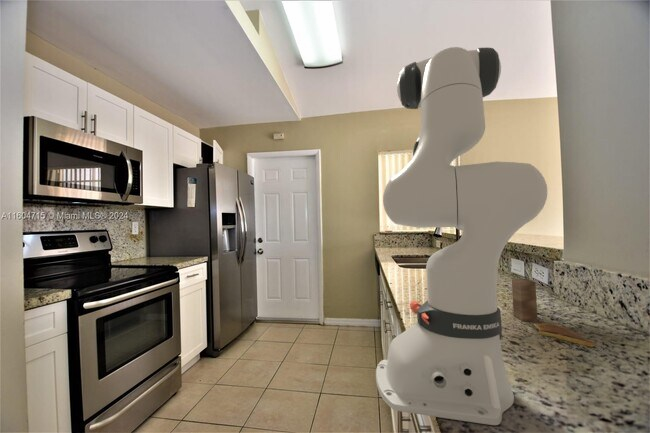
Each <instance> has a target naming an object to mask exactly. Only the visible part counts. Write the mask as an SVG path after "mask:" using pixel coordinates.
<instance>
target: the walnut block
mask: <svg viewBox="0 0 650 433" xmlns="http://www.w3.org/2000/svg"><path fill="white" fill-rule="evenodd" d="M536 285H537V284H536V281H534V280H530V279H527V278H511V291H512V292H511V293H512V294H511V295H512V311H513V312H512V313H513V317H514V318H516V319H517V320H520V321H521V322H539V321H538V307H537V306H538V302H537V286H536Z"/></svg>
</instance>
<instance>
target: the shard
mask: <svg viewBox="0 0 650 433" xmlns="http://www.w3.org/2000/svg"><path fill="white" fill-rule="evenodd" d="M533 326H534V327H535V328H536V329H537V330H538V333H539V334H538V335H540V336H541V335H542V336H546V337H550V338H551V337H552V338H555V339H559V340H562V341H567V342H569V343H574V344H578V345H582V346H587V347H590V348H591V347H592V348H595V345H597V343H595V342H594V341H592V340H589V339H588V338H586V337H584V336H583V335H581V334H579V333H577V332H576V331H573V330H572V329H570V328H567V327H565V326H563V325H559V324H555V323H542V322H541V323H538V322H537V323H535V322H534V323H533Z"/></svg>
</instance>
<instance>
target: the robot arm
mask: <svg viewBox="0 0 650 433" xmlns="http://www.w3.org/2000/svg"><path fill="white" fill-rule="evenodd" d="M501 73H502V64H501V59H500V56H499V53H498V52H497V50H496V49H495V48H493V47H477V48H476V49H475V50H474V49H472V50H471V49H470V50H468V49H465V48H463V47H458V46H454V47H453V46H452V47H448V48H444V49H442V50H440V51H439V52H437V53H435V54H434V55H433V56H432V57H430V58H426V59H423V60H421V61H419V62H418V61H417V62H416V61H413V62H411V63H409V64H407V65H405V66H404V67H403V68H402V70H400V72H399V76H398V79H397V83H396V84H397V85H396V92H397V96H398V98H399V101H400V102H401V105H402V106H403V107H404V108H405V109H408V110H418V109H419V108H420V130H419V134H418V136H417V138H416V140H415V143H414V145H413V151H412V157H411V158H410V159H409V161H408V162H407V164H406V165H405V166H404V167H403V168H402V169H401V170H400V171H398V173H396V174H395V175H394V176H392V177H391V178H390V180H388V182H387V184H386V186H385V187H384V192H383V195H382V203H383V208H384V211H385V213H386V215H387V217H388V219H389V220H390V221H392V223H394V224H395V225H400V226H405V227H410V228H419V229H420V228H421V229H422V228H423V229H424V228H427V229H428V228H455V229H456V230H459V231H462V234H461V237H460V238H459V239H458V240H457V241H456V242H454V243H452V244H450V245H447V246H445V247H443V248H441V249H439V250H437V251H435V252H434V253H432V254H431V255H430V257H429V258H428V260H427V261H426V264H425V265H426V266H425V271H426V272H425V273H426V291H427V292H426V295H427V300H426V301H425V302H424V303H423V304H422V305H421V304H420V303H419V301H417V300H413V301H410V303H409V308H410V310H411V311H412V313H413V314H416V317H417V318H416V319H417V321H416V322H415V323H414V324H412V325H411V326H410V327H409V328H407V329H406V330H404V331H403V332H402V333H400V334H399V335H397V336H396V337H394V338H393V339H392V340H391V342H390V345H389V346H388V347H389V348H388V352H387V359H381V360H380V362H378V364H377V366H376V369H375V382H376V387H377V390H378V393H379V394H380V397H381V398H382V399H383V401H384V403H385V404H386V405H387V406H389V408H391V409H392V410H393V411H396V412H397V411H398V412H401V413H402V412H403V413H410V414H414V415H415V414H416V415H423V416H429V417H436V418H442V419H447V420H448V419H450V420H455V421H456V420H457V421H462V422H467V423H468V422H469V423H477V424H483V425H490V426H499V425H500V424H501V422H502V421H503V420H502V419H503V414H504V412H506V411H507V410H509V408H511V407H512V405H513V404H514V401H515V396H514V393H513V390H512V387H511V385H510V381H509V377H508V374H507V372H506V366H505V362H504V358H503V352H502V351H503V350H502V344H501V340H502V338H503V326H502V314H501V309H500V308H499V307H498V296H497V295H498V288H497V287H498V286H497V285H498V271H499V270H498V269H499V262H500V259H501V255H502V254H503V250H504V248H505V247H506V246H507V244H508V242H509V241H510V239H511V238H513V236H514V234H516V233H517V231H519V230H520V229H521V228H522V227H524V226H525V225H526V224H528V223H529V222H531V221H532V220H534V219H535V218H536V217H537V216H538V215H539V214H540V213H541V212H542V210H543V209H544V206H545V205H546V203H547V199H548V185H547V182H546V179H545V177H544V176H543V174H542V172H540V171H539V169H538V168H537V167H535V166H534V165H532V164H531V163H527V162H513V161H490V162H482V163H480V162H479V163H473V164H471V163H470V164H463V165H451V163H452V162H453V161H454V160H456V159H457V158H458V157H460V156H462V155H464V154H465V153H467V152H469V151H470V150H472V149H473V148H474V147H475V146H476V145H477V144H478V143H479V142H480V141H481V139H482V138H483V136H484V134H485V131H486V119H485V109H484V98H485V97H487V96H490V95H491V94H492V93H493V91H495V89H496V88H497V85H498V83H499V80H500V76H501Z"/></svg>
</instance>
